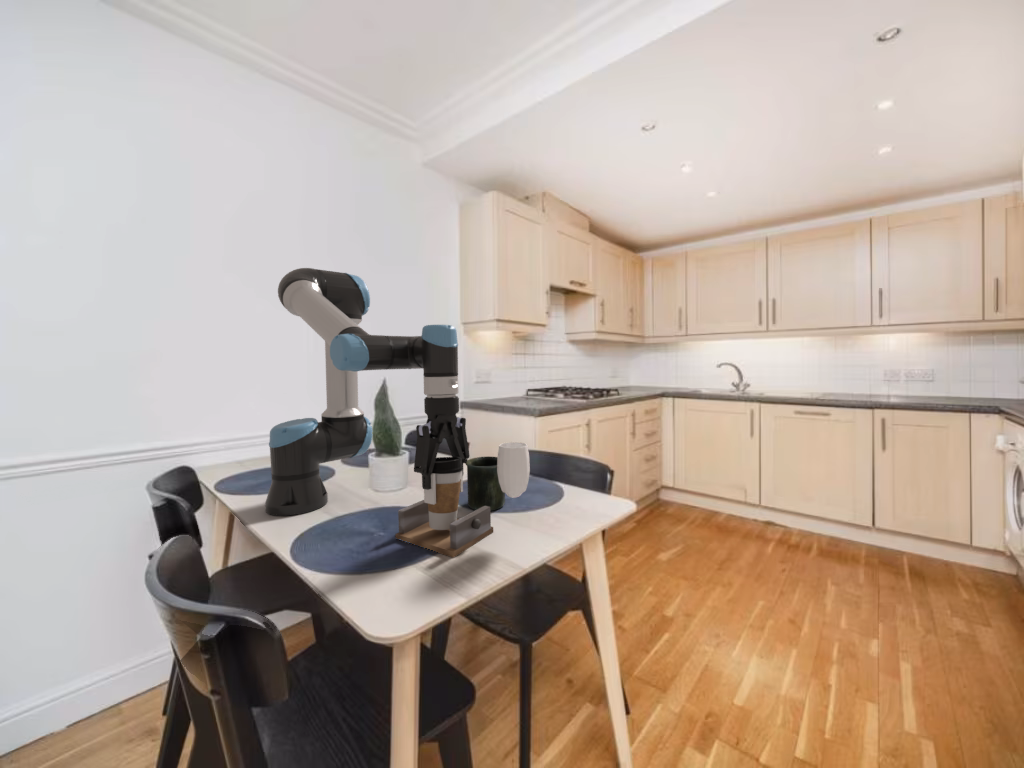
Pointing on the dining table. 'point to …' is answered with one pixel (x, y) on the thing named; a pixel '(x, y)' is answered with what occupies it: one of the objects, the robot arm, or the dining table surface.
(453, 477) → the coffee cup
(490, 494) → the mug
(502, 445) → the cup
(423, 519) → the holder
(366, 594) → the dining table surface
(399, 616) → the dining table surface
